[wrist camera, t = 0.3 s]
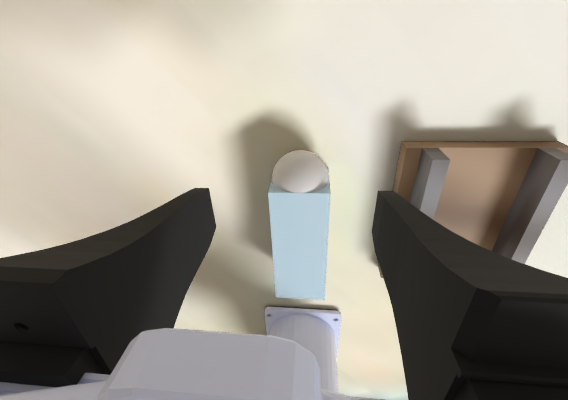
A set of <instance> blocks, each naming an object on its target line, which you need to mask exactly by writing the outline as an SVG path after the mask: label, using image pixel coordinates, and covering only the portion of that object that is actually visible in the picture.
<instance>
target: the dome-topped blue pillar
mask: <svg viewBox="0 0 568 400" xmlns="http://www.w3.org/2000/svg"><path fill="white" fill-rule="evenodd" d="M268 200H269V213H270V226H271V239H272V252H273V265H274V279H275V292H276V297H279V298H297V299H315V300H325V283H326V264H327V246H328V228H329V210H330V183H329V170H328V167H327V166H326V164H325V163H324V161H323V160H322V159H321V158H320V157H319V156H317V155H316V154H314V153H312V152H310V151H306V150H296V151H292V152H289V153H287V154H285V155H284V156H283V157H281V158H280V159H279V161H278V162H277V163H276V165H275V167H274V169H273V173H272V181H271V184H270V187H269V191H268Z"/></svg>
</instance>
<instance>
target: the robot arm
mask: <svg viewBox="0 0 568 400" xmlns="http://www.w3.org/2000/svg"><path fill="white" fill-rule="evenodd" d="M215 229H216V223H215V218H214V213H213V208H212V203H211V197H210V192H209V188H194V189H192V190H190V191H188V192H186V193H184V194H182V195H180V196H178V197H176V198H175V199H173V200H171V201H169V202H167V203H165V204H164V205H162V206H160V207H158V208H156V209H154V210H152V211H150V212H148V213H146V214H144V215H142V216H140V217H139V218H136V219H134V220H132V221H130V222H128V223H125V224H123V225H120V226H118V227H116V228H113V229H110V230H108V231H105V232H102V233H99V234H96V235H93V236H90V237H87V238H84V239H81V240H78V241H74V242H71V243H67V244H64V245H60V246H56V247H52V248H48V249H44V250H39V251H34V252H30V253H25V254H20V255H15V256H10V257H5V258H0V400H384V399H373V398H362V397H350V396H347V395H343V394H340V393H339V391H338V374H337V351H338V341H339V332H340V322H341V313H340V312H339V311H334V310H317V309H300V308H283V307H266V308H265V311H264V314H265V323H266V332H267V335H258V334H244V333H230V332H216V331H201V330H187V329H173V328H174V325H175V322H176V319H177V316H178V313H179V311H180V308H181V305H182V303H183V300H184V297H185V295H186V293H187V290H188V288H189V286H190V284H191V282H192V280H193V278H194V276H195V274H196V272H197V270H198V268H199V266H200V264H201V262H202V261H203V259H204V257H205V255H206V253H207V251H208V248H209V246H210V244H211V241H212V238H213V235H214V232H215ZM372 235H373V241H374V247H375V252H376V256H377V259H378V262H379V265H380V268H381V271H382V274H383V278H384V281H385V284H386V287H387V290H388V293H389V296H390V300H391V304H392V307H393V312H394V317H395V322H396V327H397V332H398V338H399V343H400V349H401V354H402V360H403V367H404V373H405V379H406V385H407V392H408V399H409V400H568V278H565V277H562V276H559V275H555V274H552V273H549V272H545V271H542V270H539V269H537V268H534V267H531V266H528V265H525V264H522V263H520V262H517V261H514V260H512V259H509V258H507V257H504V256H502V255H499V254H497V253H495V252H492V251H490V250H488V249H486V248H483V247H481V246H479V245H477V244H475V243H473V242H471V241H469V240H467V239H465V238H463V237H461V236H459V235H458V234H456V233H454V232H452V231H450V230H449V229H447V228H445V227H444V226H442V225H441V224H439V223H438V222H436V221H434V220H433V219H431V218H430V217H429V216H427V215H426V214H424V213H423V212H421V211H420V210H419V209H417V208H416V207H415V206H413V205H412V204H411V203H409V202H408V201H407V200H405V199H404V198H403V197H401V196H400V195H399V194H397V193H396V192H394V191H378V194H377V201H376V208H375V214H374V221H373V228H372Z"/></svg>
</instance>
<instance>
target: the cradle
mask: <svg viewBox="0 0 568 400" xmlns="http://www.w3.org/2000/svg"><path fill="white" fill-rule="evenodd" d="M567 184H568V146H567V145H565V144H563V143H561V142H559V141H470V142H402V143H401V149H400V154H399V159H398V165H397V170H396V176H395V181H394V187H393V191H394V192H396V193H397V194H399V195H400V196H401V197H403V198H404V199H405V200H407V201H408V202H409V203H411V204H412V205H413V206H415V207H416V208H417V209H419V210H420V211H421V212H423V213H424V214H426V215H427V216H429V217H430V218H431V219H433V220H434V221H436V222H438V223H439V224H441V225H442V226H444V227H445V228H447V229H449V230H450V231H452V232H454V233H456V234H458V235H459V236H461V237H463V238H465V239H467V240H469V241H471V242H473V243H475V244H477V245H479V246H481V247H483V248H486V249H488V250H490V251H492V252H495V253H497V254H499V255H502V256H504V257H507V258H509V259H512V260H514V261H517V262H520V263H522V264H525V262H526V260H527V258H528V256H529V254H530V252H531V251H532V249H533V247H534V245H535V243H536V241H537V239H538V238H539V236H540V234H541V232H542V230H543V228H544V226H545V225H546V223H547V221H548V219H549V217H550V215H551V213H552V212H553V210H554V208H555V206H556V204H557V202H558V200H559V199H560V197H561V195H562V193H563V191H564V189H565V187H566V186H567ZM379 271H380V275H381V278H383V274H382V271H381V268H380V265H379Z"/></svg>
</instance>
